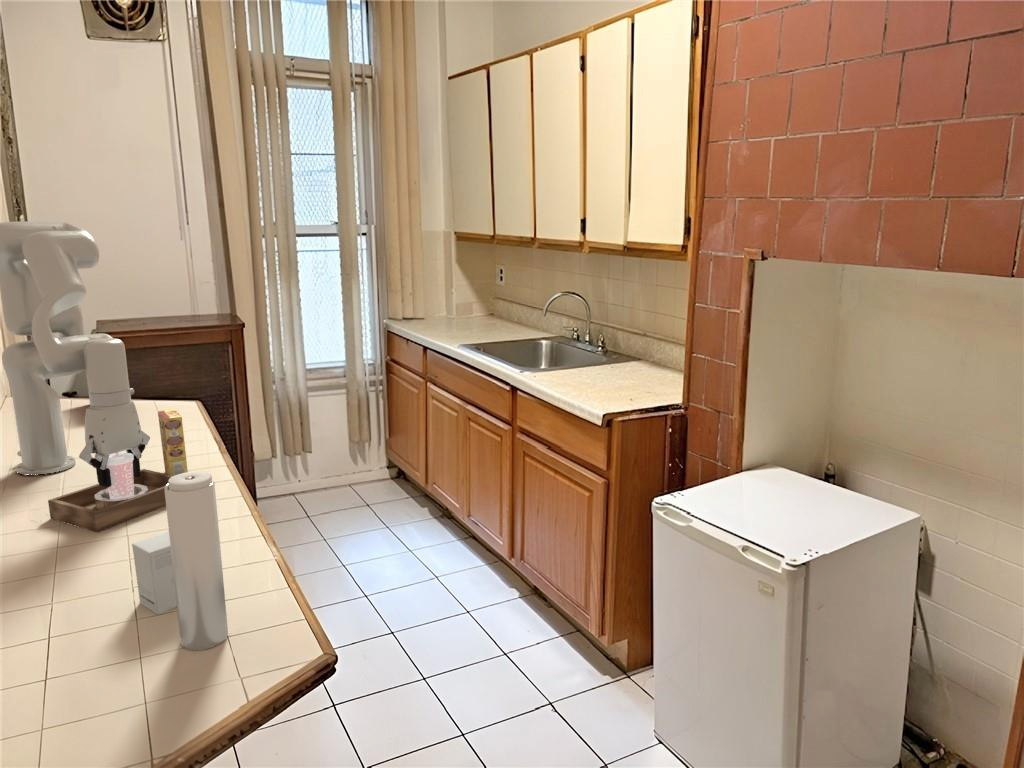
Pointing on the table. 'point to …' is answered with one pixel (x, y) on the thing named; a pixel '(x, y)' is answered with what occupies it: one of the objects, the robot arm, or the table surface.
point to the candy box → (172, 442)
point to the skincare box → (155, 573)
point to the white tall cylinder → (196, 560)
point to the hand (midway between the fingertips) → (120, 480)
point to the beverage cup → (121, 475)
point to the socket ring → (104, 499)
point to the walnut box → (85, 515)
